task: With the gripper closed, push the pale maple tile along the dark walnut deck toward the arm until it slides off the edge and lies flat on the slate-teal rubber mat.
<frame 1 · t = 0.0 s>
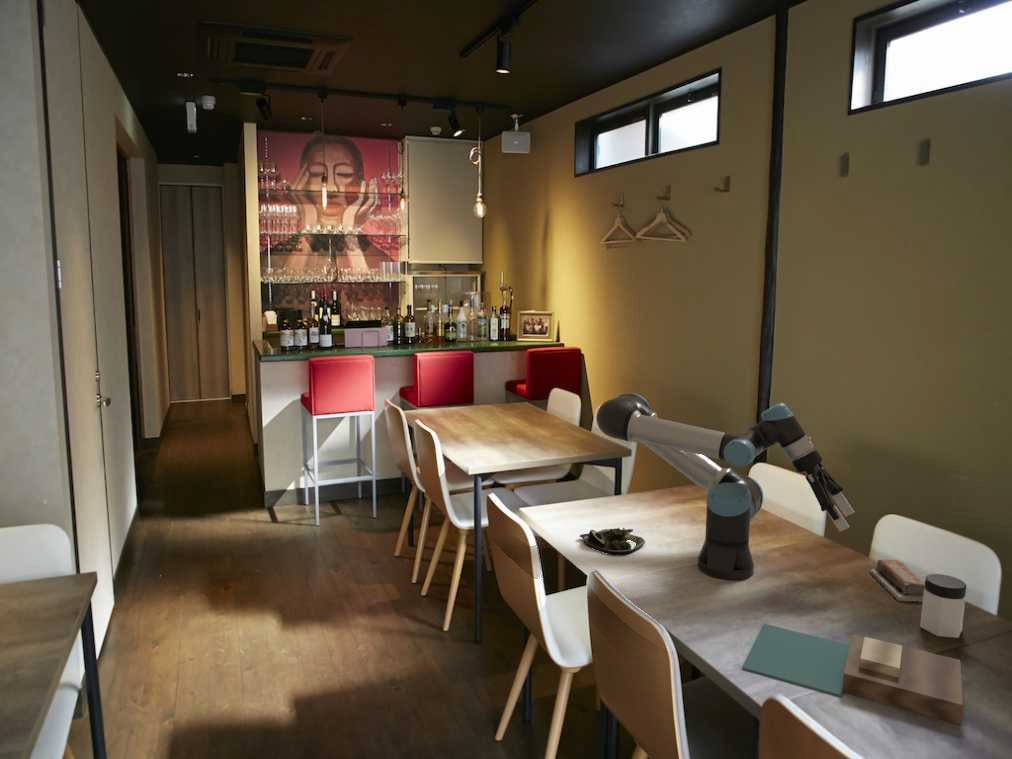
hand: (847, 521, 194), 15 cm above the table, tool tilted 35°, fingers open, 13 cm apart
maple tile: (880, 660, 146), point 4 cm above the table, touching walnut deck
packaged product: (901, 589, 190), on the table
walnut deck: (901, 684, 144), on the table
jar: (940, 630, 167), on the table
salad plate: (612, 545, 218), on the table
teal mat: (798, 657, 154), on the table
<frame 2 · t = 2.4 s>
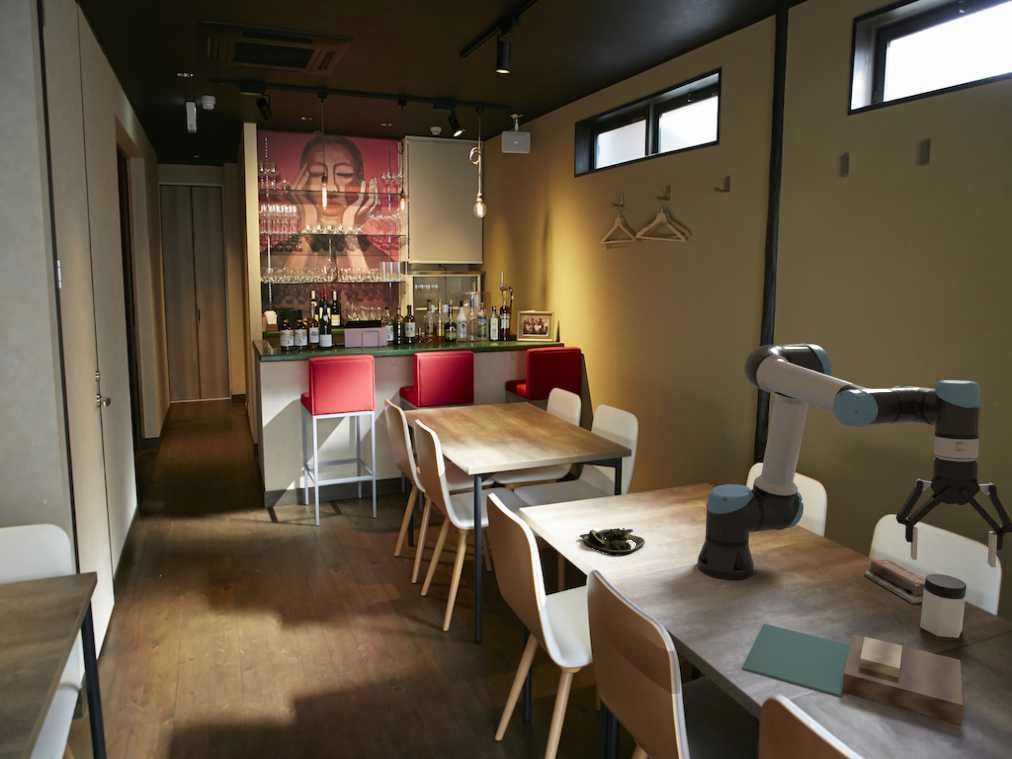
hand: (951, 561, 144), 25 cm above the table, tool pointing down, fingers open, 13 cm apart
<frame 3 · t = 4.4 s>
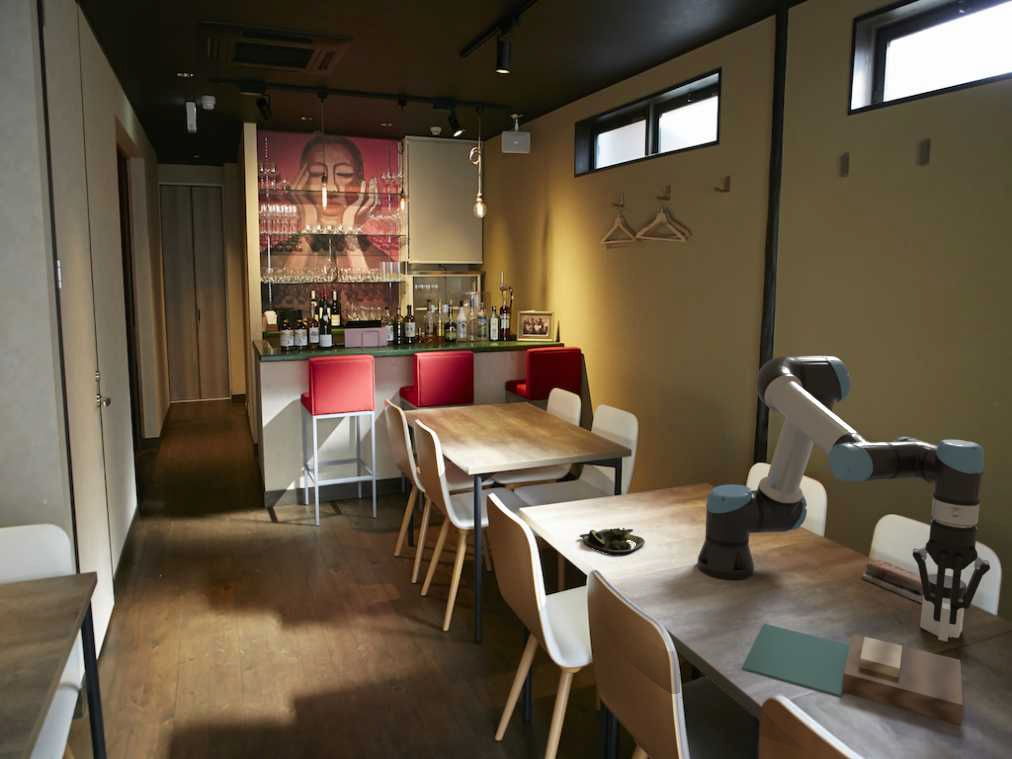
hand: (942, 637, 139), 12 cm above the table, tool pointing down, fingers closed
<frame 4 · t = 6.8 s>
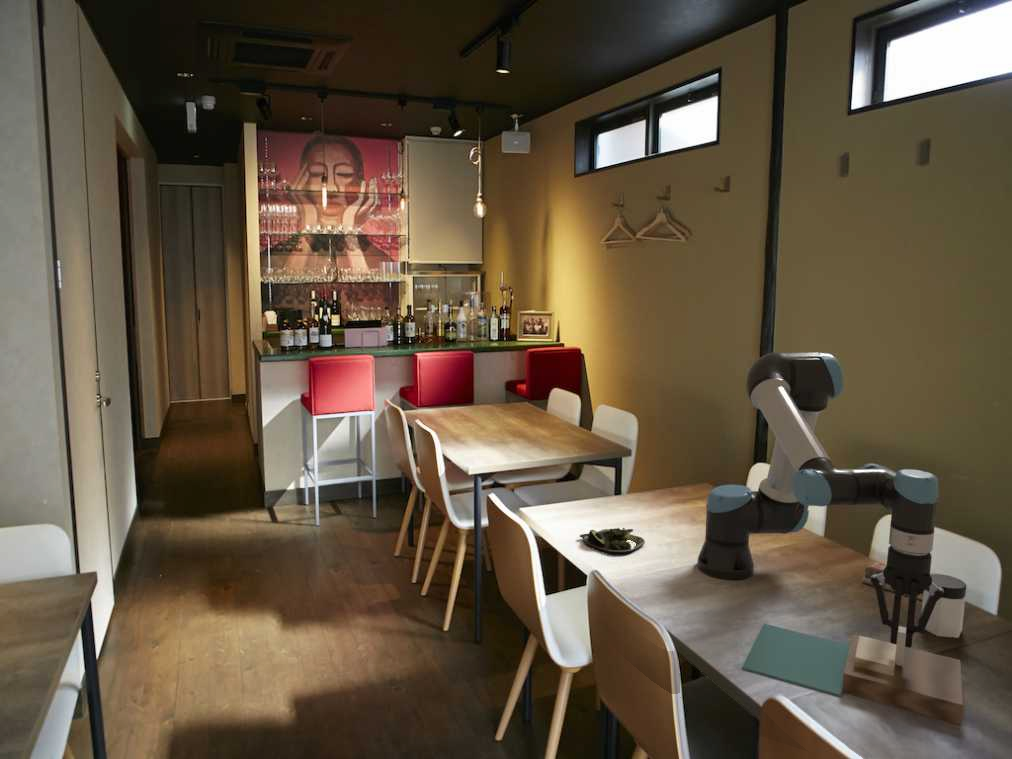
hand: (899, 659, 144), 5 cm above the table, tool pointing down, fingers closed
maple tile: (875, 659, 146), point 4 cm above the table, touching gripper
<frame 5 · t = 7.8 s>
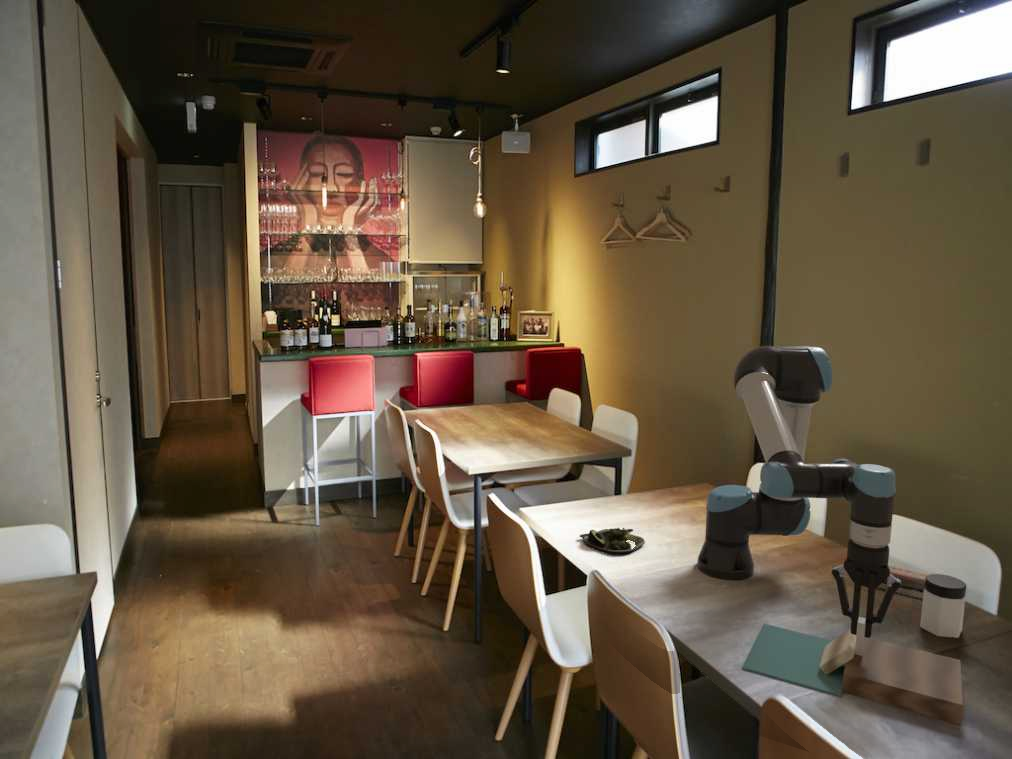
hand: (859, 649, 148), 5 cm above the table, tool pointing down, fingers closed
maple tile: (842, 655, 149), point 3 cm above the table, tilted 48°, touching teal mat
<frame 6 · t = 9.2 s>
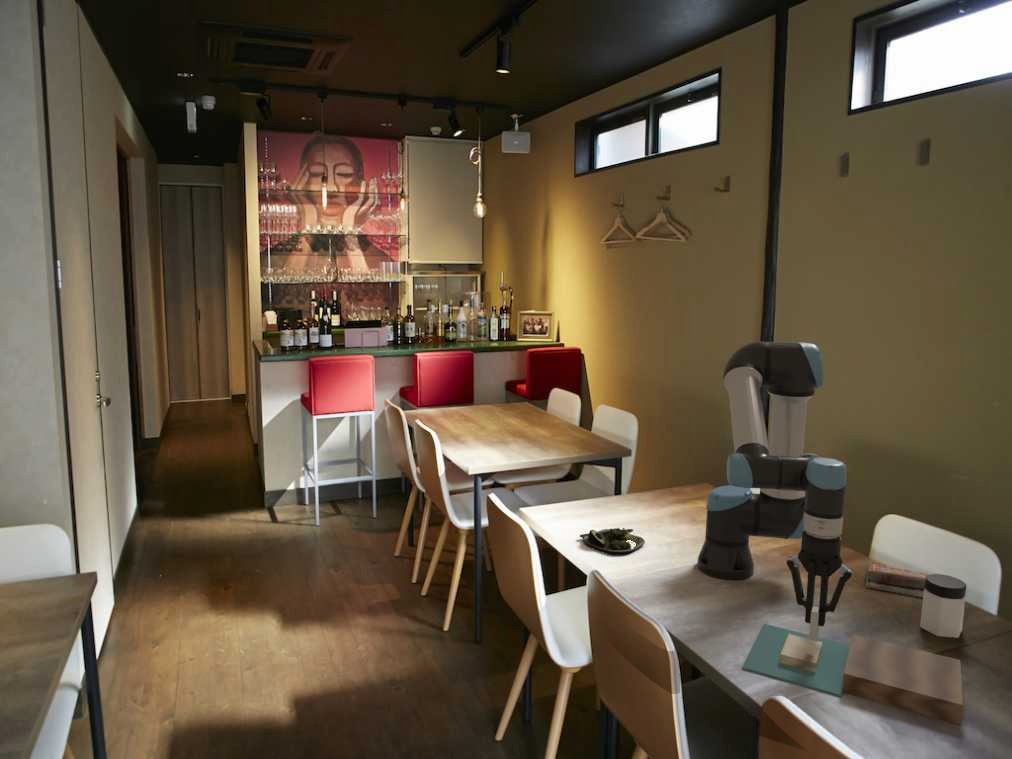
hand: (813, 637, 152), 5 cm above the table, tool pointing down, fingers closed
maple tile: (801, 648, 153), point 2 cm above the table, tilted 180°, touching teal mat
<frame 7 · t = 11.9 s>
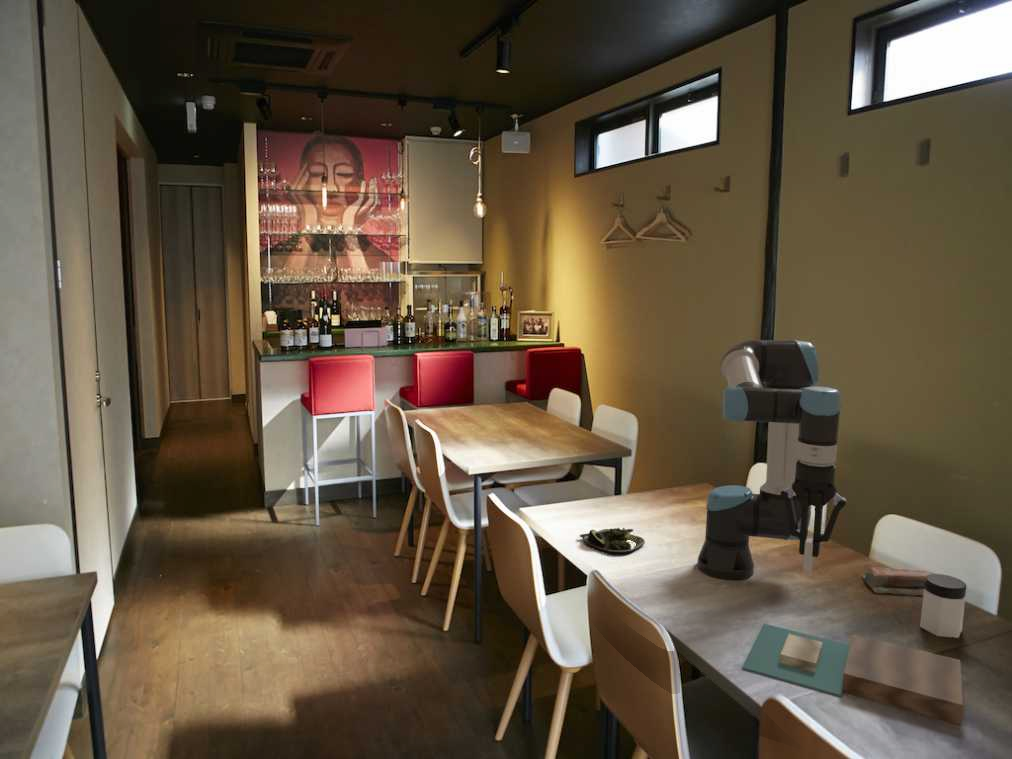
hand: (807, 569, 151), 20 cm above the table, tool pointing down, fingers closed
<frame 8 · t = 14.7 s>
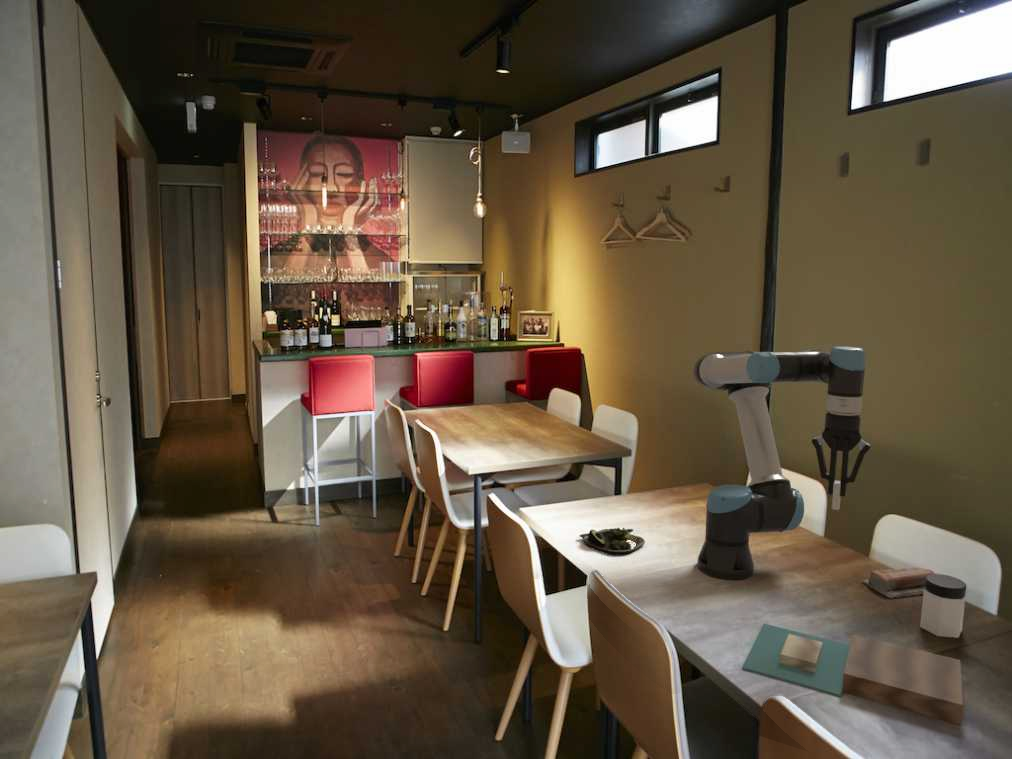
hand: (835, 508, 172), 26 cm above the table, tool pointing down, fingers closed
at the end: maple tile inside the target area (0.0 cm from its centre), point 2.4 cm above the table; maple tile point 2.4 cm above the table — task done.
